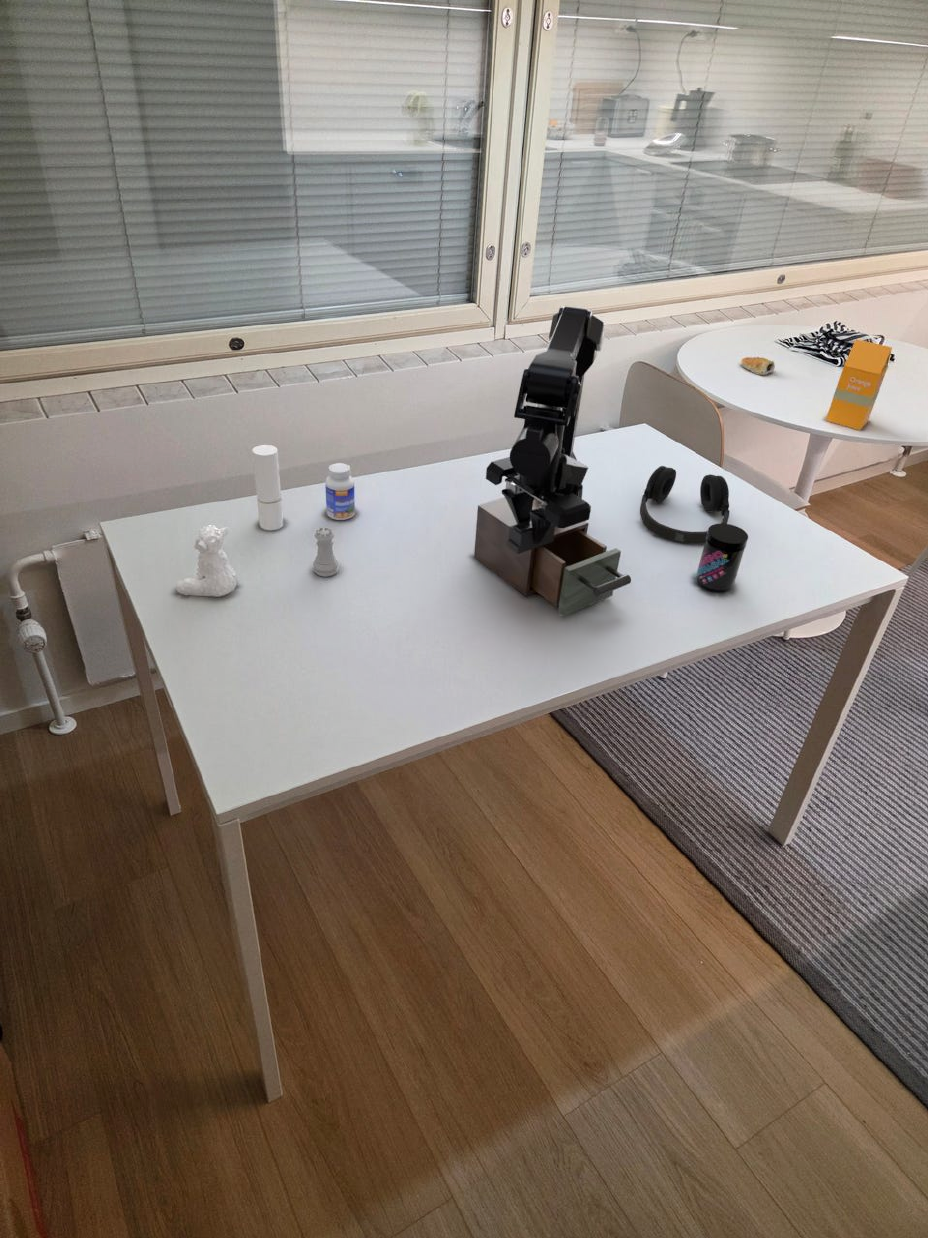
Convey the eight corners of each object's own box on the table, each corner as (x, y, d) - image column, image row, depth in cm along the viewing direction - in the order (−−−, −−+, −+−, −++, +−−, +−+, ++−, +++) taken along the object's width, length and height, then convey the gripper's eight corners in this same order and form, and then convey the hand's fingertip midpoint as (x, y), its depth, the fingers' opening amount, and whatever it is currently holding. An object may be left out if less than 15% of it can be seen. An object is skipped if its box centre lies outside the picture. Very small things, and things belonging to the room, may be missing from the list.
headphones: (735, 470, 167) (730, 530, 153) (726, 500, 172) (720, 561, 158) (651, 456, 170) (638, 513, 156) (644, 486, 175) (632, 544, 162)
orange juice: (833, 411, 218) (859, 335, 206) (868, 421, 214) (896, 343, 202) (825, 420, 213) (851, 342, 201) (860, 430, 209) (888, 351, 197)
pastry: (735, 366, 243) (738, 353, 240) (748, 362, 246) (751, 349, 244) (762, 376, 237) (766, 363, 235) (775, 372, 241) (779, 359, 239)
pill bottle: (337, 523, 156) (335, 476, 151) (321, 512, 160) (318, 465, 154) (360, 515, 159) (359, 469, 154) (344, 504, 163) (343, 458, 157)
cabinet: (580, 575, 147) (588, 522, 141) (525, 596, 141) (532, 542, 134) (527, 538, 156) (533, 487, 150) (473, 557, 150) (477, 505, 144)
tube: (278, 531, 153) (271, 456, 144) (256, 528, 153) (248, 453, 145) (286, 520, 156) (281, 446, 147) (265, 517, 157) (258, 443, 148)
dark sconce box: (541, 533, 136) (544, 513, 134) (553, 541, 134) (556, 521, 132) (505, 545, 132) (507, 525, 130) (517, 554, 130) (519, 534, 128)
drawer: (633, 610, 138) (643, 565, 133) (583, 632, 132) (591, 586, 127) (559, 558, 149) (565, 515, 144) (510, 577, 144) (515, 533, 138)
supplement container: (691, 571, 150) (705, 521, 144) (729, 575, 150) (744, 525, 144) (697, 593, 145) (711, 541, 139) (736, 596, 145) (752, 545, 138)
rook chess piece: (343, 567, 145) (342, 527, 140) (332, 580, 141) (330, 539, 136) (320, 561, 146) (318, 521, 141) (308, 574, 142) (305, 533, 137)
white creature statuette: (214, 566, 142) (205, 504, 135) (254, 581, 139) (247, 519, 132) (174, 593, 135) (162, 529, 128) (215, 609, 133) (206, 545, 125)
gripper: (625, 460, 121) (608, 551, 130) (542, 414, 133) (532, 501, 142) (568, 478, 116) (554, 571, 125) (487, 428, 127) (480, 517, 137)
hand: (530, 538), depth 132 cm, fingers closed on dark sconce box, 3 cm apart
